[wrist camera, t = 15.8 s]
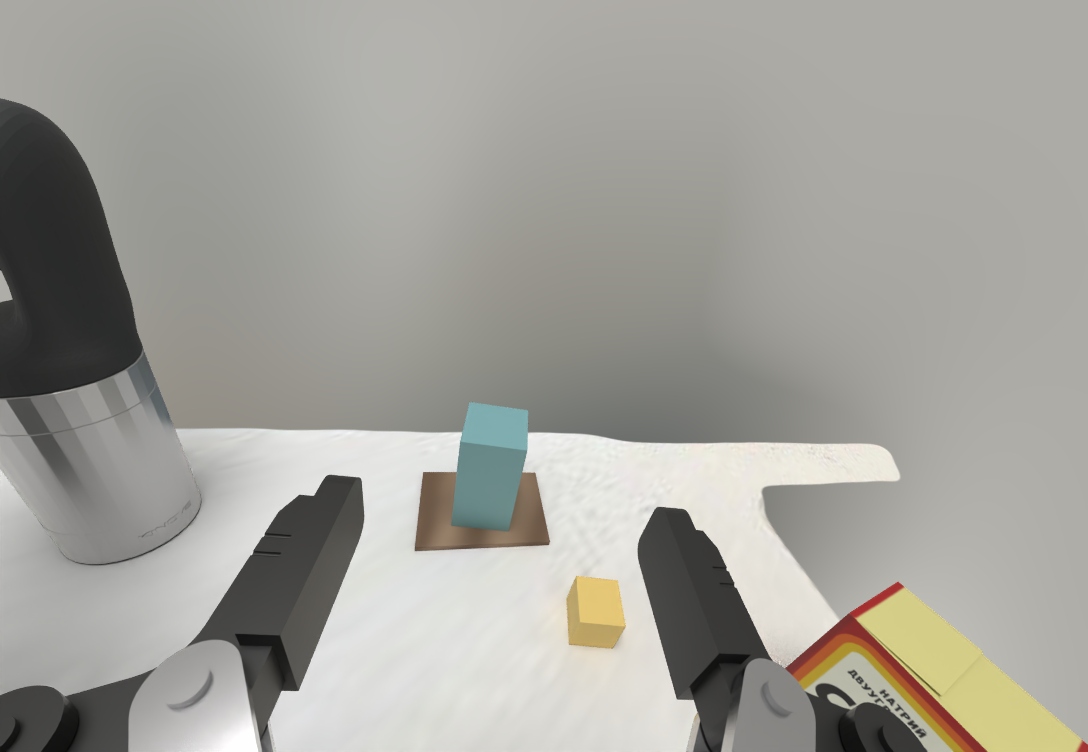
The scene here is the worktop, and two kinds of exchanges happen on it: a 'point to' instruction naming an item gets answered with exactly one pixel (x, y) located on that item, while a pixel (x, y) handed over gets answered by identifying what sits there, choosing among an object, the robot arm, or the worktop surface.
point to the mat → (441, 535)
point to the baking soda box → (927, 680)
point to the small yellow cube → (594, 612)
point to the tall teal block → (489, 466)
